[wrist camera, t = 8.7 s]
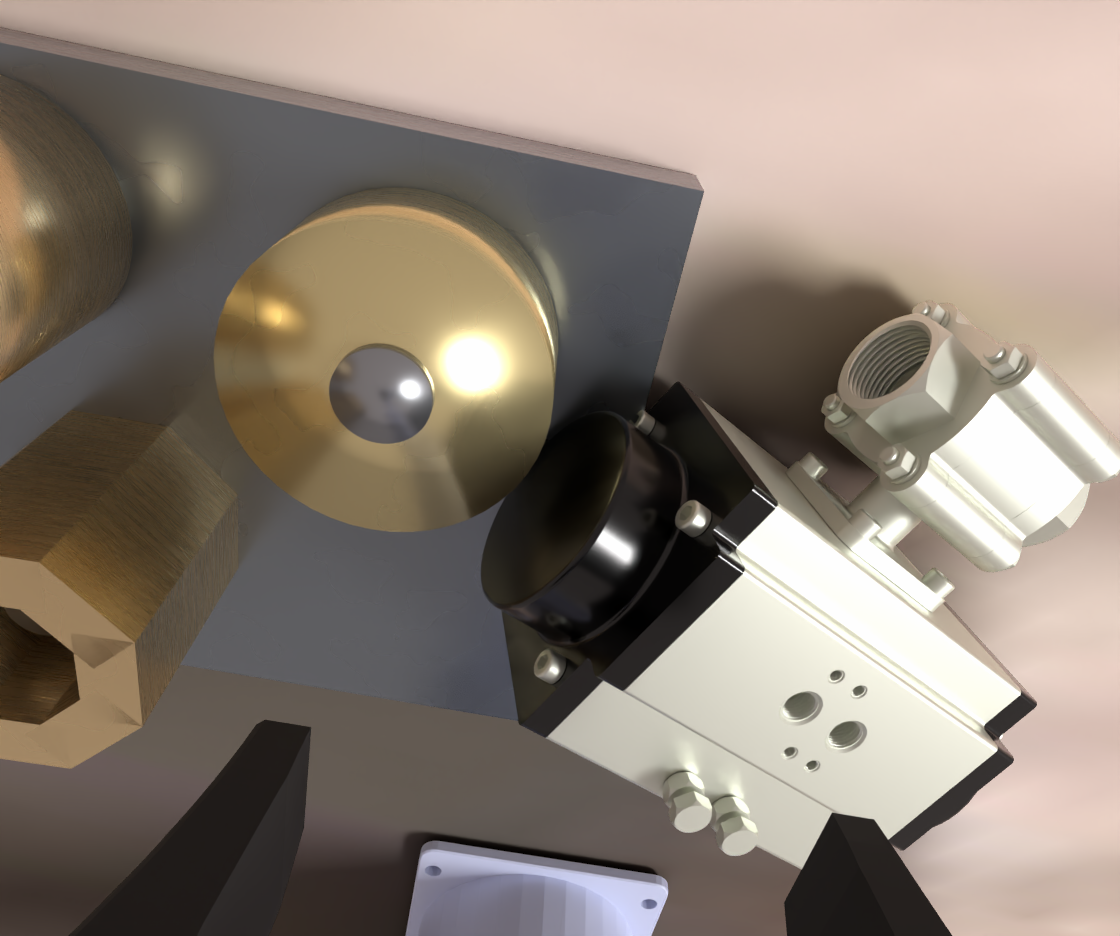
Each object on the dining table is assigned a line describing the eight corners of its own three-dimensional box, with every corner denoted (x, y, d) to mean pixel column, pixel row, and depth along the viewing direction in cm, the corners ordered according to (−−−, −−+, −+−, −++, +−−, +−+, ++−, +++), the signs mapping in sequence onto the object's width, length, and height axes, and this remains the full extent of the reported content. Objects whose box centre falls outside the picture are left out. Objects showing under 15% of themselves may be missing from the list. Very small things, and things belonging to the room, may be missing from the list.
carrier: (560, 687, 24) (549, 913, 18) (-30, 586, 23) (-243, 793, 17) (695, 175, 17) (748, 275, 11) (-138, -2, 16) (-556, 8, 10)
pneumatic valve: (1099, 470, 21) (755, 775, 24) (792, 152, 16) (416, 583, 20) (1303, 606, 16) (842, 964, 19) (953, 210, 11) (418, 771, 15)
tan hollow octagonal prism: (239, 615, 21) (146, 779, 17) (31, 582, 21) (-117, 741, 16) (236, 437, 19) (128, 576, 14) (1, 398, 18) (-183, 527, 14)
